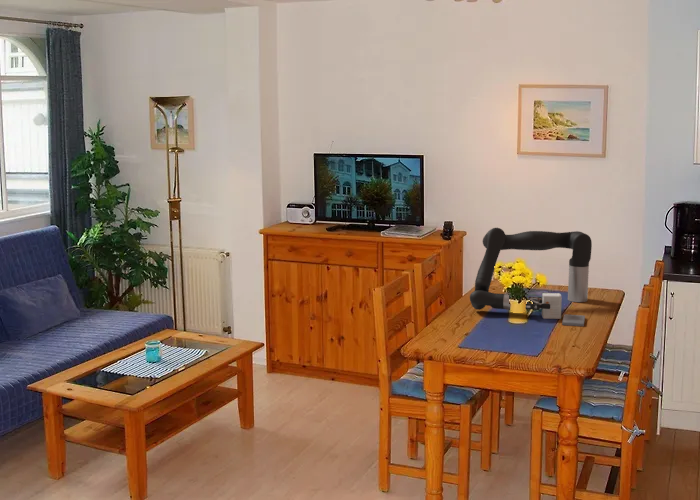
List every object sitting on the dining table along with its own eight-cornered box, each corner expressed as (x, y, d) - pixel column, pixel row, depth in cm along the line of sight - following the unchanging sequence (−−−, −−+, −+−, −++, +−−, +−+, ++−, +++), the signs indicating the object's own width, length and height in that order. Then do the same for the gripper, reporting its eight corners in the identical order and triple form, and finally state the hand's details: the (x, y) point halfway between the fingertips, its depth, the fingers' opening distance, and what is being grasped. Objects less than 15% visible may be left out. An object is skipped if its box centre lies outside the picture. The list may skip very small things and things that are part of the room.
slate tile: (564, 316, 387) (564, 314, 387) (584, 318, 384) (584, 315, 384) (562, 325, 374) (562, 322, 374) (583, 326, 371) (583, 323, 371)
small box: (559, 315, 389) (560, 293, 387) (561, 319, 384) (562, 296, 382) (541, 315, 390) (542, 292, 388) (542, 318, 384) (543, 295, 382)
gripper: (512, 297, 383) (550, 299, 378) (516, 290, 396) (552, 292, 392) (512, 314, 384) (549, 316, 380) (515, 306, 398) (551, 308, 393)
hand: (550, 304), depth 386 cm, fingers open, 8 cm apart
